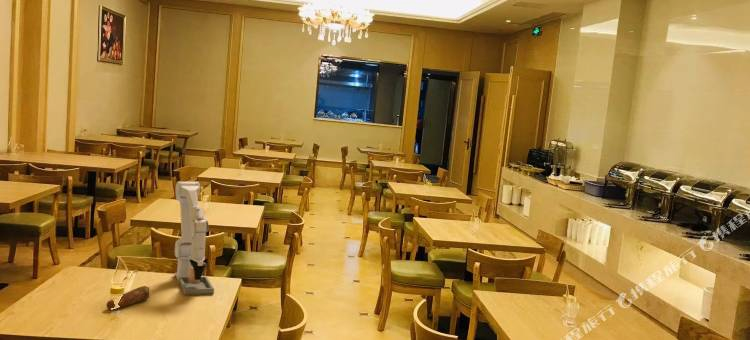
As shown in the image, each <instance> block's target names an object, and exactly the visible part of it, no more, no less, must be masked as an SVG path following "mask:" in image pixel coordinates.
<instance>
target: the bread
mask: <svg viewBox="0 0 750 340" xmlns="http://www.w3.org/2000/svg"><path fill="white" fill-rule="evenodd" d="M122 295H123V296H122V297H121V299H120V301H119V303H118V305H119V306H120V307H122V308H125V307H127V306H130V305H133V304H136V303H139V302H142V301H145V300H147V299H149V297H150V287H149V286H146V285H143V286H139V287H136V288H134V289H132V290H130V291H127V292H125V293H122ZM114 307H115V304H114V301H113V300H112V299H111V300H108V301H107V303H106V308H107V310H108V311H111V310H110V309H111V308H114Z"/></svg>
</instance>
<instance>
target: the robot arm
mask: <svg viewBox="0 0 750 340" xmlns="http://www.w3.org/2000/svg"><path fill="white" fill-rule="evenodd" d="M200 192H201V185H200V182H199V181H177V182H176V184H175V199H176V201H178V202H179V207H180V228H181V229H180V234H181V235H180V236H181V237H180V238H178V239H177V240H176V241H175V245H174V256H175V257H176V259H177V272H175V273H174V275H175V277H176V279H177V280H178V281H179V277H189V273H190V266H191V265H192V266H193V269H194V276H195V280H200V279H201V277H202V274H203V272H204V269H205V268H206V266H207V265H206V263H204V261H205V259H206V256H205V255H206V253H205V252H206V242H207V241H206V240H207V233H208V231H209V221H208V219H207V218H206V217H205V215H204V212H203V208H202V207H201V206H199V201H198V200H199V198H198V196H199V194H200Z"/></svg>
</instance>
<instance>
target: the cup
mask: <svg viewBox="0 0 750 340" xmlns="http://www.w3.org/2000/svg"><path fill="white" fill-rule="evenodd" d="M188 282H189V283H191V284H199V283H200V280H195V276H194V269H193V266H192V265H191V266H190V273H189V279H188Z"/></svg>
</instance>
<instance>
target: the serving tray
mask: <svg viewBox="0 0 750 340" xmlns="http://www.w3.org/2000/svg"><path fill="white" fill-rule="evenodd" d="M188 279H189V277H179V280H178V285H179V286H180V289H181V290H182V293H183V295H184V296H204V294H206V295H214V294H215V288H214V286H213V285H212V283H211V281H210V280H209V277H208V276H207V275H205V276H201V279H200V283H199V284H191V283H189V282H188Z"/></svg>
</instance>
